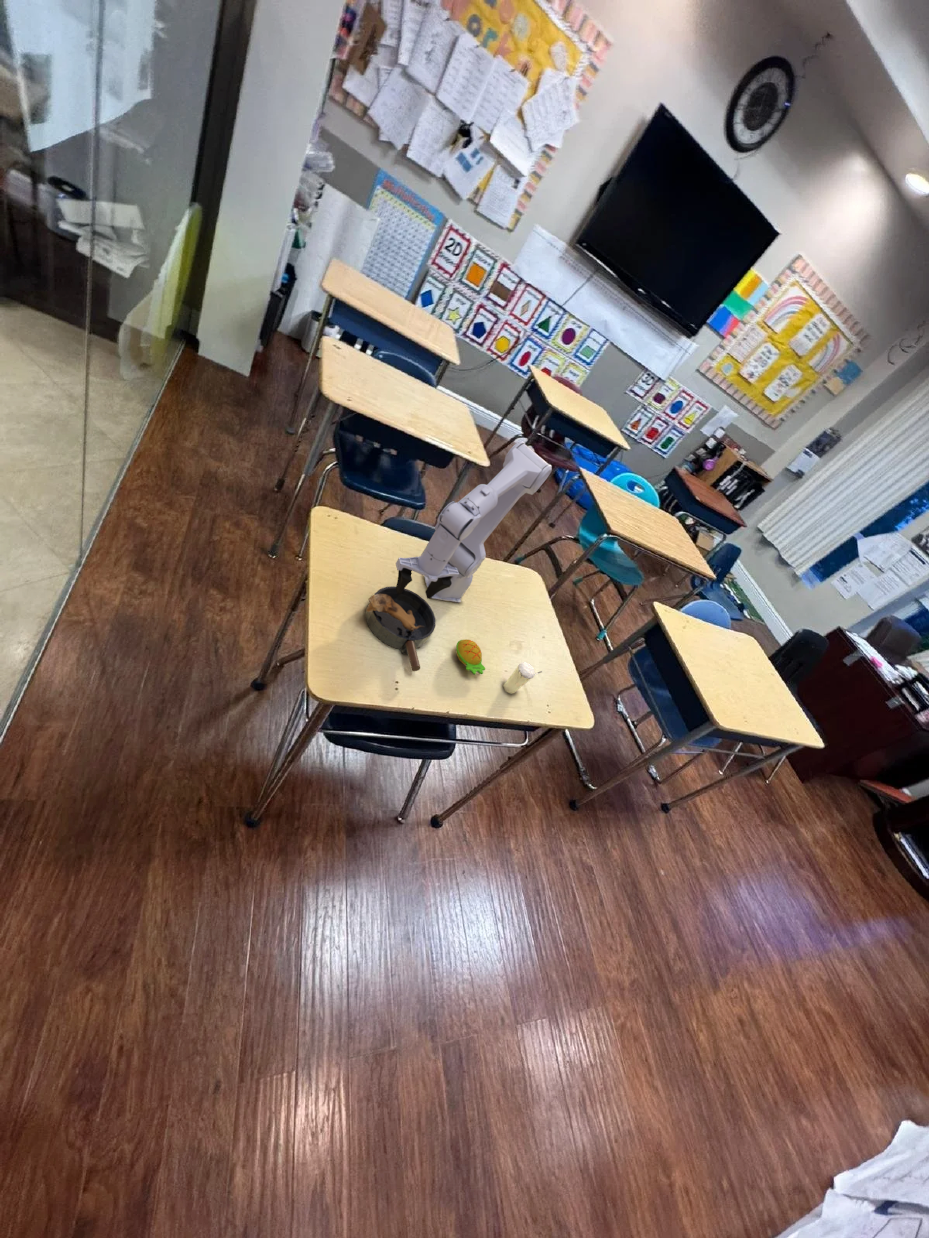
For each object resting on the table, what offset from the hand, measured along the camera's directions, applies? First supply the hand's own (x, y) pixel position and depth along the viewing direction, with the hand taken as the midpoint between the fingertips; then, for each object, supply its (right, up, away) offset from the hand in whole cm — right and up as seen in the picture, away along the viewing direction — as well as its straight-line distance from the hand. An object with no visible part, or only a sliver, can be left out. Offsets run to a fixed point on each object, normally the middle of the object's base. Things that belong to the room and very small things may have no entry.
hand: (412, 593), depth 119 cm
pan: (-4, -7, +5) cm, 9 cm away
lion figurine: (-5, -4, +3) cm, 7 cm away
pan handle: (-1, -16, -2) cm, 16 cm away
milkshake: (+23, -23, +9) cm, 34 cm away
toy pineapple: (+12, -17, +7) cm, 22 cm away
